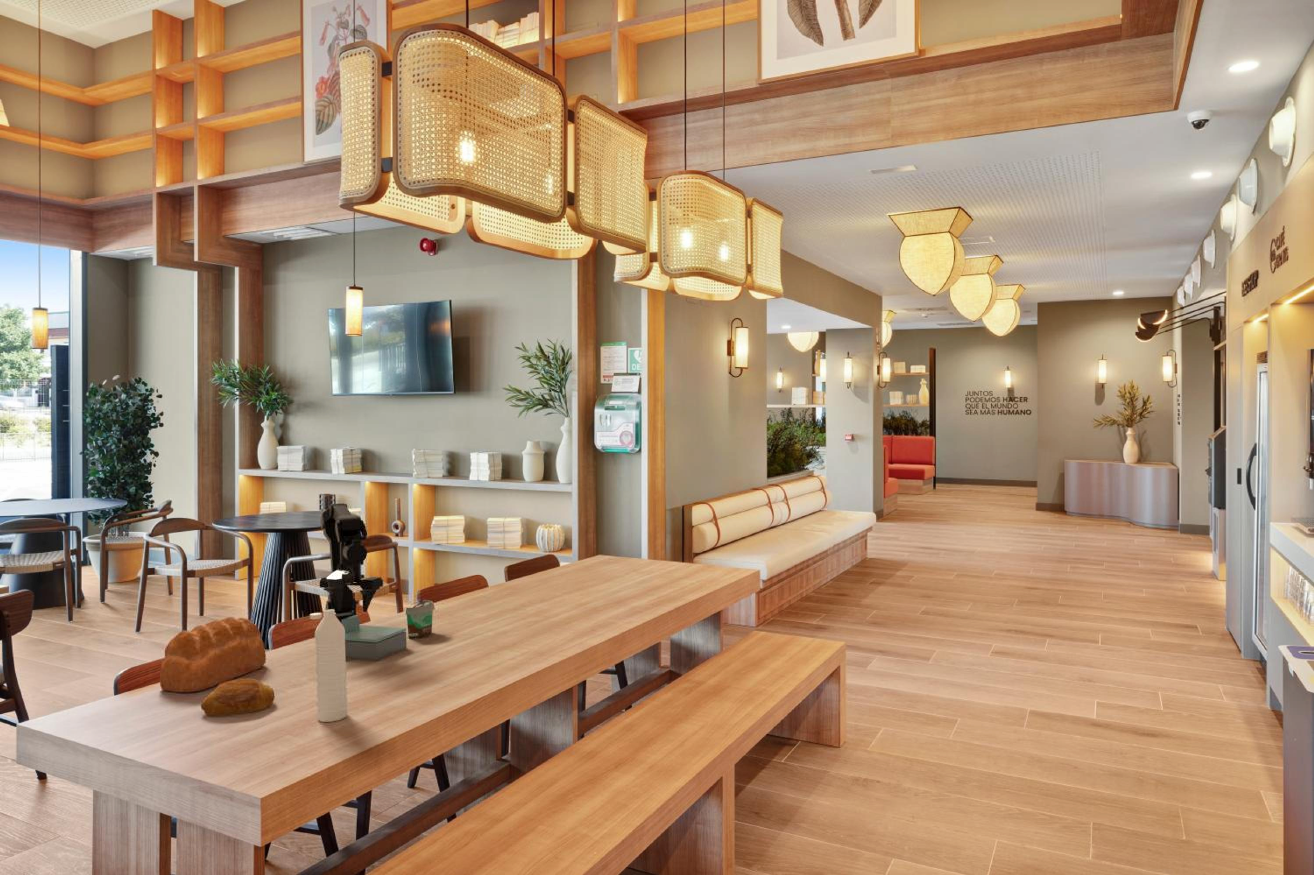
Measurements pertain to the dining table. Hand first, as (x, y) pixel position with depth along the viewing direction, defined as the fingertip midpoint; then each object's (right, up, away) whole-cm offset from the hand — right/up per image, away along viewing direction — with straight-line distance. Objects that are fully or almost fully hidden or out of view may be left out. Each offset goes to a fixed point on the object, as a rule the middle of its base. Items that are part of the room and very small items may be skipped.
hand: (352, 611), depth 252 cm
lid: (+6, -7, -2) cm, 9 cm away
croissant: (-9, -14, -49) cm, 52 cm away
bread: (-28, -14, -24) cm, 39 cm away
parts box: (+6, -12, -2) cm, 13 cm away
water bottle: (+16, -13, -59) cm, 62 cm away
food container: (+17, -12, +17) cm, 27 cm away
